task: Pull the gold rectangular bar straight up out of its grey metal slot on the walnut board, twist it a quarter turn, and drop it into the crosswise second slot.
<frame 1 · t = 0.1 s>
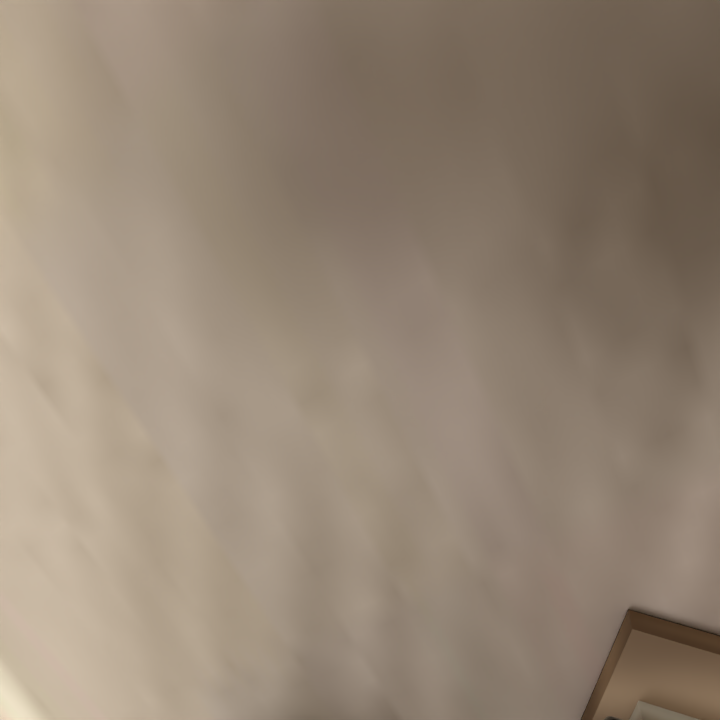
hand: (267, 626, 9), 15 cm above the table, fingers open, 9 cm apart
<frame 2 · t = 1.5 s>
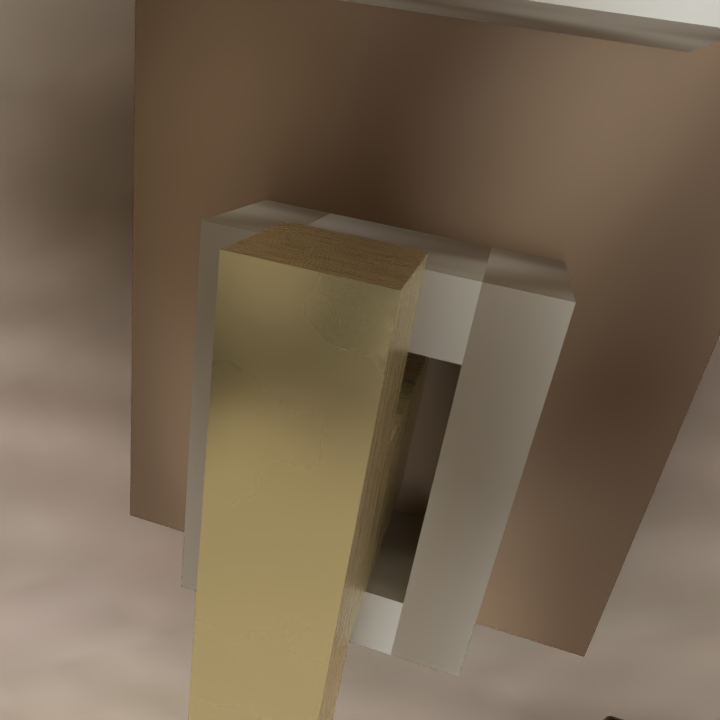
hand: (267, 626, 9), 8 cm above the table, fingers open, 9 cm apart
board: (428, 165, 13), on the table
gold rectangular bar: (376, 405, 15), point 1 cm above the table, touching board
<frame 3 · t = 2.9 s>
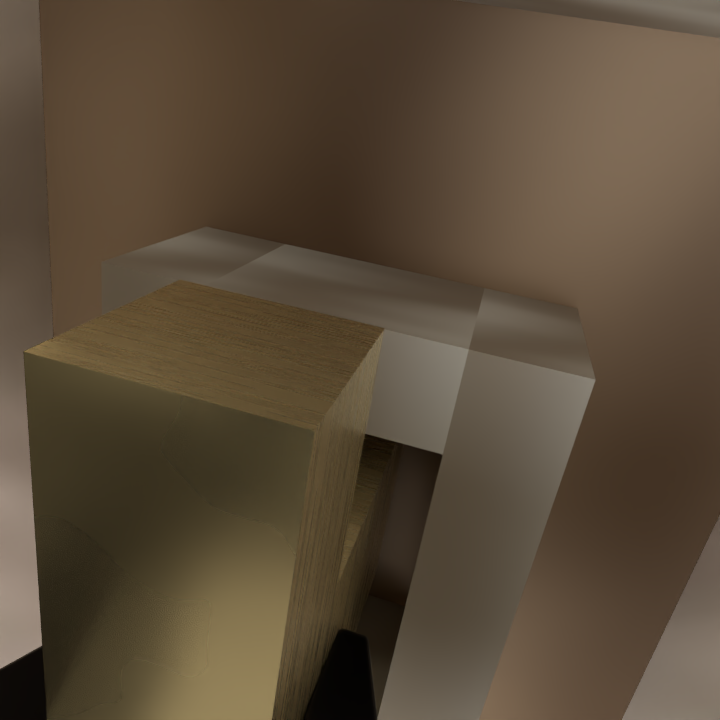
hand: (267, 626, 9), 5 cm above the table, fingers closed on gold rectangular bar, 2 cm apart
board: (406, 184, 11), on the table
gold rectangular bar: (345, 474, 12), point 1 cm above the table, touching board, gripper
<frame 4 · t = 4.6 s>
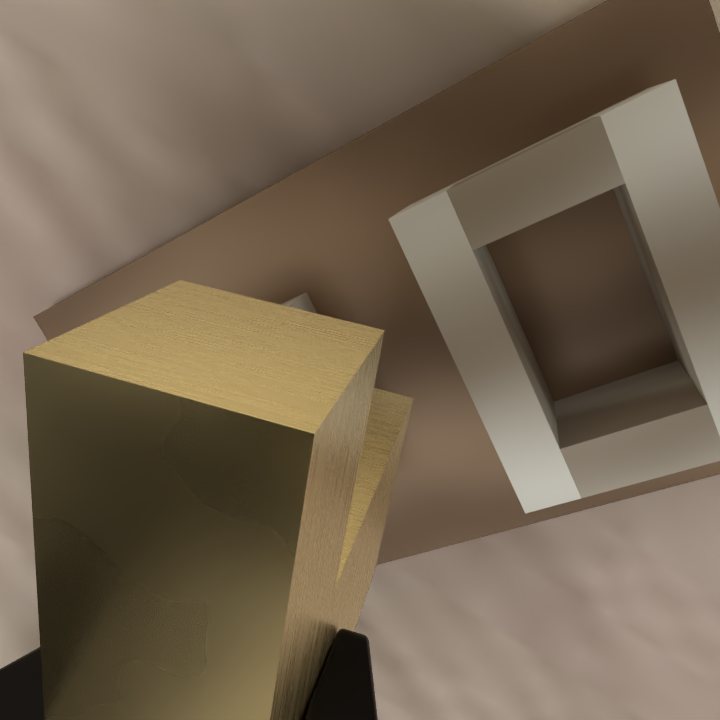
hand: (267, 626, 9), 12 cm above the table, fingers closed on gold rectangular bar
board: (393, 359, 20), on the table
gold rectangular bar: (343, 474, 12), point 8 cm above the table, touching gripper
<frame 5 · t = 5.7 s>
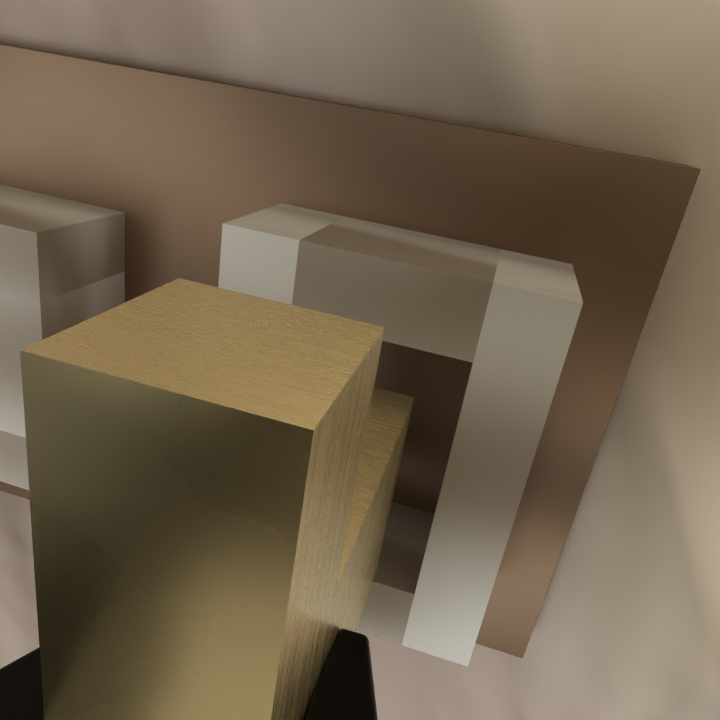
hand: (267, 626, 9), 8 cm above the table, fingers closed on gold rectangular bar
board: (186, 333, 17), on the table
gold rectangular bar: (345, 474, 12), point 4 cm above the table, touching gripper
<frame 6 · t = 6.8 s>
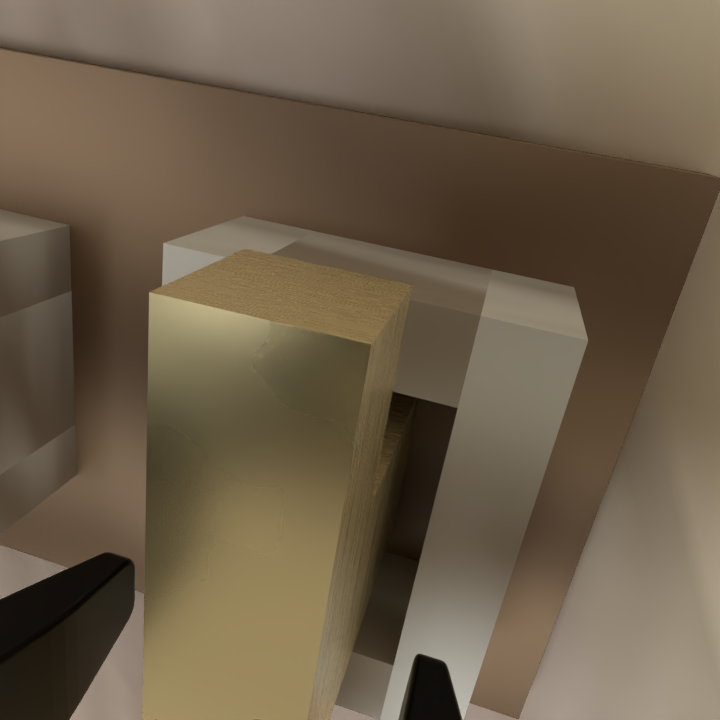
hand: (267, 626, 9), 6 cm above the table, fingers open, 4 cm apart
board: (144, 358, 15), on the table
gold rectangular bar: (365, 439, 13), point 1 cm above the table, touching board
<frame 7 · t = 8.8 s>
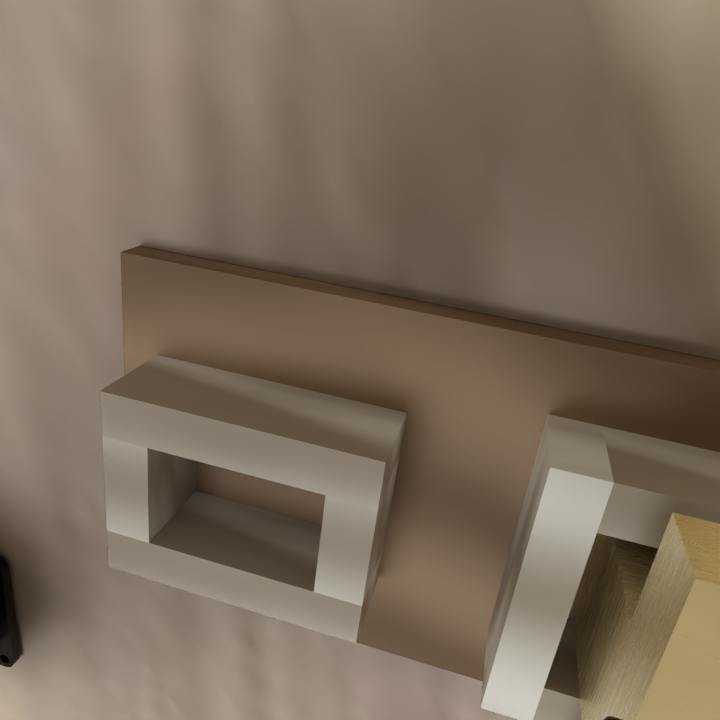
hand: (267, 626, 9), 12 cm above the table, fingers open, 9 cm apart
board: (433, 492, 21), on the table
gold rectangular bar: (622, 559, 19), point 1 cm above the table, touching board
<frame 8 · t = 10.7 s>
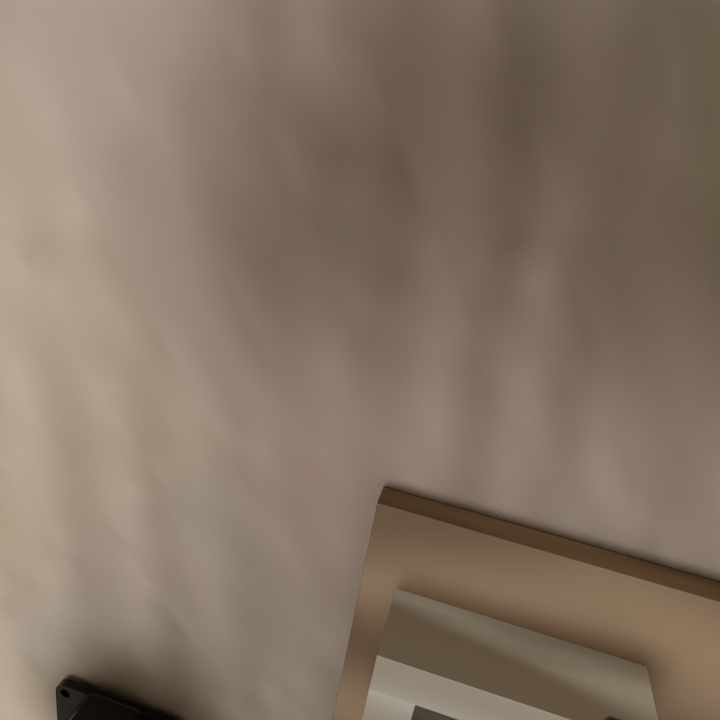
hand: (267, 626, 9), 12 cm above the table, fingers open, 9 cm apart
board: (647, 719, 22), on the table
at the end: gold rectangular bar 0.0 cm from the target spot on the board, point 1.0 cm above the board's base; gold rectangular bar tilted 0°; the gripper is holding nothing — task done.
